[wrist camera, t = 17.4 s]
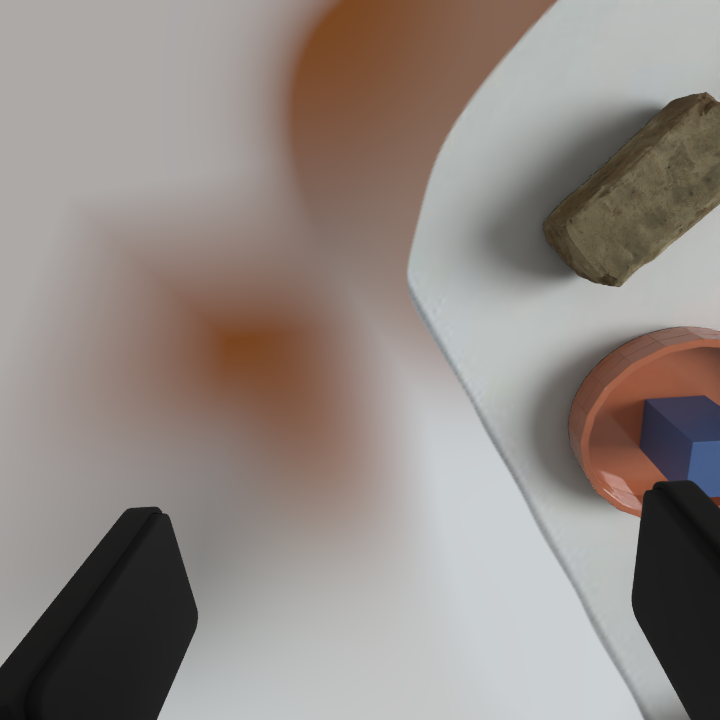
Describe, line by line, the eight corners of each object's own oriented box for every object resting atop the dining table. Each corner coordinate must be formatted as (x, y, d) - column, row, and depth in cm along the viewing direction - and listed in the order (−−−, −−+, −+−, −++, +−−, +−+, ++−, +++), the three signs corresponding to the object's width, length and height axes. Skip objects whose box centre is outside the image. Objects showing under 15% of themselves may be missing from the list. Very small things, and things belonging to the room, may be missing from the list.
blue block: (639, 448, 39) (683, 498, 33) (644, 398, 38) (692, 442, 32) (697, 444, 39) (753, 495, 33) (705, 394, 37) (765, 438, 31)
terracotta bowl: (528, 426, 40) (538, 445, 37) (683, 285, 35) (709, 294, 32) (653, 527, 42) (671, 552, 40) (813, 409, 38) (847, 428, 35)
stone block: (726, 157, 32) (782, 155, 27) (583, 284, 35) (611, 302, 31) (671, 91, 31) (720, 77, 26) (530, 229, 34) (551, 239, 30)
